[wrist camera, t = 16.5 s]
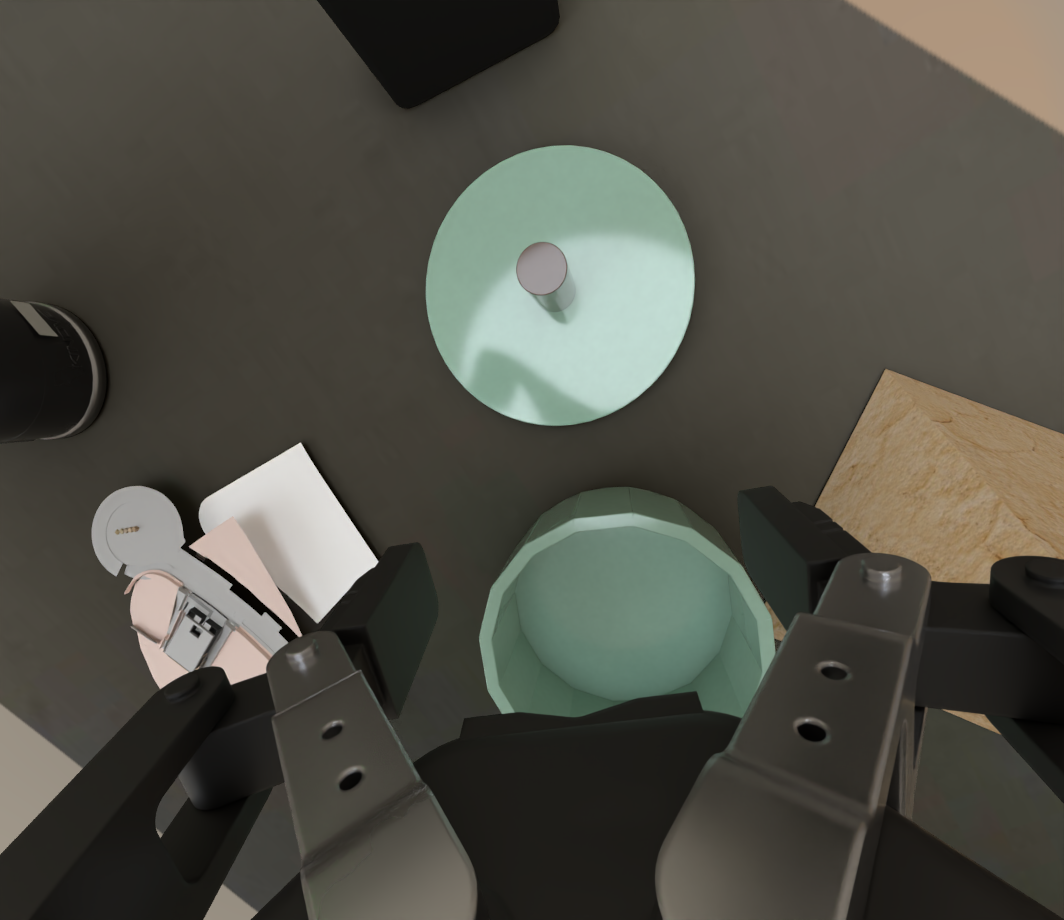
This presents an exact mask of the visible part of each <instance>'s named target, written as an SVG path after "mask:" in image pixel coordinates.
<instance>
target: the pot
mask: <svg viewBox="0 0 1064 920" xmlns="http://www.w3.org/2000/svg"><path fill="white" fill-rule="evenodd" d="M479 643H480V649H481V654H482V660H483V666H484V672H485V678H486V684H487V689H488V692H489V693H490V695H491V697H492V698H493V700H494V701H495V703H496V705H497V706H498V708H499V710H500V711H501V713H502V714H506V713H514V712H525V713H535V714H545V715H556V716H566V717H580V716H584V715H587V714H590V713H593V712H596V711H599V710H602V709H605V708H609V707H612V706H615V705H618V704H621V703H624V702H627V701H630V700H633V699H636V698H642V697H650V696H659V695H667V694H676V693H684V692H693V691H697V693H698V696H699V699H700V702H701V705H702V708H703V710H708V711H715V712H720V713H726V714H730V715H733V716H737V717H740V718H743V716H744V714H745V712H746V710H747V708H748V706H749V704H750V702H751V700H752V698H753V696H754V694H755V692H756V690H757V688H758V687H759V685H760V683H761V681H762V679H763V677H764V675H765V673H766V671H767V669H768V667H769V665H770V663H771V661H772V659H773V657H774V655H775V653H776V651H775V641H774V630H773V620H772V618H771V614H770V613H769V611H768V609H767V608H766V606H765V604H764V602H763V601H762V599H761V597H760V595H759V594H758V592H757V590H756V589H755V587H754V585H753V583H752V582H751V580H750V578H749V577H748V575H747V573H746V571H745V570H744V568H743V566H742V565H741V564H740V562H739V561H738V560H737V558H736V557H735V555H734V554H733V553H732V551H731V550H730V548H729V547H728V546H727V544H726V543H725V542H724V540H723V539H722V537H721V536H720V535H719V533H718V532H717V531H716V529H715V528H714V527H712V526H711V525H710V524H708V523H707V522H706V521H704V520H703V519H702V518H701V517H700V516H699V515H697V514H696V513H695V512H694V511H692V510H691V509H689V508H688V507H686V506H685V505H683V504H682V503H680V502H679V501H678V500H676V499H673V498H669V497H667V496H664V495H661V494H659V493H656V492H653V491H648V490H643V489H638V488H632V487H609V488H601V489H595V490H590V491H586V492H581V493H579V494H577V495H575V496H573V497H570V498H568V499H566V500H564V501H562V502H560V503H559V504H557V505H556V506H554V507H553V508H551V509H550V510H548V511H546V512H545V513H543V514H542V515H540V517H539V518H538V519H537V520H536V522H535V523H534V524H533V526H532V527H531V528H530V529H529V530H528V532H527V533H526V535H525V536H524V537H523V539H522V540H521V541H520V542H519V544H518V545H517V546H516V548H515V549H514V551H513V552H512V554H511V556H510V557H509V559H508V561H507V562H506V564H505V566H504V567H503V569H502V571H501V572H500V574H499V575H498V577H497V579H496V580H495V582H494V584H493V585H492V587H491V589H490V593H489V597H488V601H487V606H486V610H485V614H484V618H483V622H482V626H481V630H480V634H479Z"/></svg>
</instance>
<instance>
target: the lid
mask: <svg viewBox="0 0 1064 920" xmlns="http://www.w3.org/2000/svg"><path fill="white" fill-rule="evenodd" d="M694 290H695V271H694V261H693V255H692V249H691V245H690V242H689V238H688V235H687V232H686V229H685V227H684V225H683V222H682V220H681V218H680V216H679V214H678V212H677V210H676V209H675V207H674V206H673V204H672V203H671V201H670V200H669V198H668V197H667V195H666V194H665V193H664V192H663V191H662V190H661V188H660V187H659V186H658V185H657V184H656V183H655V182H654V181H653V180H652V179H651V178H650V177H648V176H647V175H646V174H645V173H644V172H642V171H641V170H640V169H639V168H637V167H635V166H634V165H632V164H630V163H629V162H627V161H626V160H624V159H622V158H619V157H617V156H615V155H612V154H610V153H608V152H604V151H601V150H597V149H593V148H589V147H581V146H573V145H563V146H548V147H542V148H536V149H532V150H529V151H526V152H523V153H520V154H517V155H514V156H512V157H510V158H508V159H506V160H504V161H502V162H500V163H498V164H497V165H495V166H494V167H492V168H490V169H489V170H487V171H486V172H484V173H483V174H482V175H481V176H480V177H479V178H477V179H476V180H475V181H474V182H473V183H471V184H470V185H469V187H468V188H467V189H466V190H465V191H464V192H463V193H462V194H461V195H460V196H459V198H458V199H457V200H456V202H455V203H454V205H453V206H452V207H451V209H450V210H449V212H448V213H447V215H446V217H445V219H444V221H443V223H442V224H441V226H440V228H439V231H438V233H437V236H436V238H435V241H434V243H433V246H432V250H431V254H430V258H429V262H428V269H427V276H426V304H427V313H428V318H429V323H430V327H431V331H432V334H433V337H434V340H435V342H436V345H437V348H438V350H439V352H440V354H441V356H442V357H443V359H444V361H445V363H446V365H447V366H448V368H449V369H450V370H451V372H452V373H453V375H454V376H455V378H456V379H457V380H458V381H459V382H460V383H461V384H462V385H463V386H464V388H465V389H466V390H467V391H469V392H470V393H471V394H472V395H473V396H474V397H476V398H477V399H478V400H479V401H481V402H482V403H484V404H485V405H487V406H488V407H490V408H491V409H493V410H495V411H497V412H499V413H501V414H503V415H505V416H507V417H510V418H513V419H516V420H519V421H522V422H526V423H532V424H537V425H548V426H563V425H575V424H580V423H584V422H589V421H593V420H596V419H598V418H601V417H604V416H607V415H609V414H611V413H613V412H615V411H617V410H619V409H621V408H623V407H624V406H626V405H627V404H629V403H630V402H632V401H633V400H635V399H636V398H638V397H639V396H640V395H641V394H642V393H644V392H645V391H646V390H647V389H648V388H649V387H650V386H651V385H652V384H653V383H654V382H655V381H656V380H657V379H658V378H659V376H660V375H661V374H662V373H663V372H664V371H665V369H666V368H667V366H668V365H669V363H670V362H671V360H672V359H673V357H674V356H675V354H676V352H677V350H678V348H679V346H680V344H681V342H682V340H683V338H684V335H685V332H686V329H687V326H688V324H689V321H690V316H691V311H692V307H693V302H694Z"/></svg>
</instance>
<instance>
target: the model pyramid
mask: <svg viewBox="0 0 1064 920" xmlns="http://www.w3.org/2000/svg"><path fill="white" fill-rule="evenodd" d="M815 507H816V508H819V509H821V510H822V511H823V512H824V513H826V514H827V515H828V516H829V517H830V518H831V519H833V522H834V521H835V522H836V523H837V524H839V525H840V526H841V527H842V528H843V531H844V530H846V531H847V532H848V533H849V534H851V535H852V536H853V537H854V538H855V539H856V540H858V541H859V542H860V543H861V544H862V545H864V546H865V547H866V548H867V549H868V550H870V551H871V552H872V553H885V554H892V555H897V556H901V557H904V558H907V559H910V560H912V561H915V562H917V563H918V564H920V565H922V566H923V567H924V568H926V569H927V570H928V572H929V573H930V575H931V581H938V582H952V583H979V584H990V571H991V566H992V565H993V564H994V563H995V562H996V561H999V560H1001V559H1004V558H1008V557H1014V556H1044V557H1052V558H1058V559H1063V560H1064V434H1061V433H1058V432H1056V431H1053V430H1050V429H1047V428H1045V427H1042V426H1039V425H1037V424H1034V423H1031V422H1028V421H1026V420H1023V419H1020V418H1018V417H1015V416H1012V415H1009V414H1007V413H1004V412H1001V411H999V410H996V409H993V408H990V407H988V406H985V405H982V404H980V403H977V402H974V401H971V400H969V399H966V398H963V397H961V396H958V395H955V394H952V393H950V392H947V391H944V390H942V389H939V388H936V387H933V386H931V385H928V384H925V383H923V382H920V381H917V380H914V379H912V378H909V377H906V376H904V375H901V374H898V373H895V372H893V371H890V370H887V369H885V371H884V373H883V375H882V377H881V379H880V381H879V383H878V385H877V387H876V388H875V390H874V392H873V394H872V396H871V398H870V400H869V402H868V404H867V406H866V408H865V410H864V412H863V414H862V416H861V418H860V420H859V422H858V424H857V426H856V427H855V429H854V431H853V433H852V435H851V437H850V439H849V441H848V443H847V445H846V447H845V449H844V451H843V453H842V455H841V457H840V459H839V461H838V463H837V464H836V466H835V468H834V470H833V472H832V474H831V476H830V478H829V480H828V482H827V484H826V486H825V488H824V490H823V492H822V494H821V496H820V498H819V500H818V501H817V503H816V505H815ZM765 606H766V608H767V609H768V611H769V613H770V614H771V618H772V620H773V630H774V638H775V639H778V640H780V641H782V640H783V638H784V636H785V634H786V632H787V631H786V630H785V628H784V627H783V625H782V624H781V622H780V621H779V619H778V618H777V616H776V615H775V613H774V612H773V610H772V609H771V607H770V606H769V604H768V602H767V601H766V603H765ZM942 710H944V709H942ZM944 711H947V712H949V713H951V714H954V715H956V716H958V717H961V718H963V719H965V720H968V721H970V722H973V723H975V724H977V725H980V726H982V727H984V728H987V729H989V730H991V731H994V732H996V733H998V734H1001V733H1000V732H999V731H998V730H997V729H996V728H995V727H994V726H993V725H992V724H991V722H990V721H989V720H988V719H987V718H986V716H985V715H984V714H976V713H968V712H960V711H952V710H944Z"/></svg>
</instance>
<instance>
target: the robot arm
mask: <svg viewBox="0 0 1064 920" xmlns="http://www.w3.org/2000/svg"><path fill="white" fill-rule="evenodd" d="M105 393H106V369H105V363H104V359H103V356H102V353H101V350H100V348H99V346H98V343H97V341H96V340H95V338H94V336H93V335H92V333H91V332H90V330H89V329H88V328H87V327H86V325H85V324H84V323H83V322H82V321H81V320H80V319H78V318H77V317H76V316H75V315H73V314H72V313H70V312H69V311H67V310H65V309H63V308H61V307H58V306H55V305H51V304H45V303H38V302H30V301H27V302H21V301H14V300H7V299H0V444H3V443H14V442H25V441H34V440H35V439H58V438H67V437H71V436H74V435H76V434H78V433H80V432H82V431H83V430H85V429H86V428H87V427H88V426H90V424H91V423H92V422H93V421H94V420H95V418H96V417H97V415H98V414H99V412H100V410H101V407H102V405H103V402H104V398H105ZM738 511H739V522H740V533H741V544H742V553H743V558H744V562H745V565H746V568H747V571H748V573H749V575H750V577H751V578H752V580H753V581H754V583H755V584H756V586H757V587H758V589H759V590H760V592H761V593H762V595H763V596H764V598H765V599H766V601H767V602H768V604H769V606H770V607H771V609H772V610H773V612H774V613H775V615H776V616H777V618H778V619H779V621H780V622H781V624H782V625H783V627H784V628H785V630H786V631H787V632H786V634H785V636H784V638H783V640H782V642H781V644H780V646H779V648H778V650H777V651H776V653H775V655H774V657H773V659H772V661H771V663H770V665H769V667H768V669H767V671H766V673H765V675H764V677H763V679H762V681H761V683H760V685H759V687H758V688H757V690H756V692H755V694H754V696H753V698H752V700H751V702H750V704H749V706H748V708H747V710H746V712H745V714H744V716H743V718H740V717H737V716H733V715H730V714H726V713H720V712H715V711H708V710H703V708H702V705H701V702H700V699H699V696H698V693H697V691H693V692H684V693H676V694H667V695H659V696H650V697H642V698H636V699H633V700H630V701H627V702H624V703H621V704H618V705H615V706H612V707H609V708H605V709H602V710H599V711H596V712H593V713H590V714H587V715H584V716H580V717H566V716H556V715H545V714H535V713H525V712H514V713H506V714H497V715H488V716H480V717H471V718H464V721H463V726H462V730H461V734H460V738H458V739H455V740H453V741H450V742H448V743H446V744H444V745H441V746H439V747H438V748H436V749H434V750H432V751H430V752H429V753H427V754H425V755H424V756H422V757H421V758H420V759H418V760H417V761H415V762H414V763H413V764H412V762H411V760H410V758H409V756H408V755H407V753H406V751H405V749H404V747H403V746H402V744H401V742H400V740H399V738H398V736H397V735H396V733H395V731H394V729H393V727H392V726H391V724H390V722H389V720H390V719H398V718H399V715H400V713H401V710H402V708H403V705H404V702H405V700H406V697H407V695H408V692H409V690H410V687H411V684H412V682H413V679H414V677H415V674H416V672H417V669H418V667H419V664H420V661H421V659H422V656H423V654H424V651H425V649H426V646H427V644H428V641H429V638H430V636H431V633H432V631H433V628H434V626H435V623H436V620H437V617H438V599H437V594H436V590H435V587H434V584H433V580H432V577H431V574H430V570H429V567H428V564H427V560H426V557H425V553H424V550H423V548H422V546H421V545H420V544H419V543H418V542H416V543H409V544H403V545H397V546H391V547H389V548H388V549H387V550H386V552H385V553H384V554H383V556H382V557H381V559H380V560H379V562H378V563H377V565H376V566H375V567H374V568H371V569H370V570H368V571H367V572H366V573H365V574H363V575H362V576H361V577H359V578H358V579H357V580H356V581H355V582H354V584H353V585H352V587H351V588H350V589H349V591H348V592H347V593H348V594H347V595H345V596H344V598H343V599H342V600H341V602H340V605H338V606H337V607H336V609H335V610H334V611H333V613H332V614H331V615H330V617H329V618H328V620H327V621H326V622H325V624H324V625H323V626H322V628H321V629H320V631H317V632H312V633H309V634H306V635H303V636H301V637H298V638H296V639H294V640H292V641H291V642H289V643H287V644H286V645H284V646H283V647H282V648H280V649H279V650H278V651H277V652H276V653H275V654H274V655H273V656H272V657H271V658H270V660H269V661H268V663H267V666H266V673H264V674H261V675H258V676H255V677H252V678H249V679H246V680H243V681H240V682H238V683H235V684H232V685H231V684H230V682H229V680H228V678H227V675H226V673H225V671H224V670H223V668H221V667H217V666H210V667H204V668H200V669H197V670H194V671H191V672H189V673H187V674H185V675H182V676H180V677H179V678H177V679H175V680H173V681H172V682H170V683H168V684H167V685H166V686H164V687H163V688H161V689H160V690H159V691H158V692H156V693H155V694H154V695H153V696H152V697H151V698H150V699H149V700H148V701H147V702H146V703H145V704H144V705H143V707H142V708H141V709H140V710H139V711H138V712H137V713H136V714H135V715H134V716H133V717H132V718H131V719H130V720H129V721H128V722H127V723H126V724H125V725H124V726H123V727H122V728H121V729H120V730H119V732H118V733H117V734H116V735H115V736H114V737H113V738H112V739H111V740H110V741H109V742H108V743H107V744H106V745H105V746H104V747H103V748H102V749H101V750H100V751H99V752H98V753H97V754H96V755H95V757H94V758H93V759H92V760H91V761H90V762H89V763H88V764H87V765H86V766H85V767H84V768H83V769H82V770H81V771H80V772H79V773H78V774H77V775H76V776H75V777H74V779H72V781H71V782H70V783H69V784H68V785H67V786H66V787H65V788H64V789H63V790H62V791H61V792H60V793H59V794H58V795H57V796H56V797H55V798H54V799H53V800H52V801H51V802H50V803H49V804H48V806H47V807H46V808H45V809H44V810H43V811H42V812H41V813H40V814H39V815H38V816H37V817H36V818H35V819H34V820H33V821H32V822H31V823H30V824H29V825H28V827H26V828H25V830H24V831H23V832H22V833H21V834H20V835H19V836H18V837H17V838H16V839H15V840H14V841H13V842H12V843H11V844H10V845H9V846H8V847H7V848H6V849H5V850H4V851H3V852H2V853H1V855H0V920H203V919H204V917H205V915H206V913H207V911H208V910H209V908H210V906H211V904H212V902H213V900H214V898H215V896H216V895H217V893H218V891H219V889H220V887H221V885H222V883H223V881H224V880H225V878H226V876H227V874H228V872H229V870H230V868H231V866H232V864H233V863H234V861H235V859H236V857H237V855H238V853H239V851H240V849H241V848H242V846H243V844H244V842H245V840H246V838H247V836H248V834H249V832H250V831H251V829H252V827H253V825H254V823H255V821H256V819H257V817H258V816H259V814H260V812H261V810H262V808H263V806H264V804H265V802H266V800H267V799H268V797H269V795H270V793H271V790H272V788H273V787H274V786H276V785H279V784H281V783H284V782H285V785H286V790H287V795H288V799H289V804H290V808H291V813H292V818H293V822H294V827H295V832H296V836H297V841H298V845H299V850H300V855H301V860H302V868H301V870H300V872H299V873H298V874H297V875H296V876H295V877H294V878H293V879H292V880H291V881H290V882H289V883H288V884H287V885H286V886H285V887H284V888H283V889H282V890H281V891H280V892H279V893H278V894H277V895H276V896H274V897H273V898H272V899H271V900H270V901H269V902H268V903H267V904H266V905H265V906H264V907H263V908H262V909H261V910H260V911H259V912H258V913H257V914H256V915H255V916H254V917H253V918H252V919H251V920H1064V919H1063V918H1061V917H1059V916H1058V915H1056V914H1055V913H1053V912H1052V911H1050V910H1049V909H1047V908H1045V907H1044V906H1042V905H1041V904H1039V903H1038V902H1036V901H1035V900H1033V899H1032V898H1030V897H1028V896H1027V895H1025V894H1024V893H1022V892H1021V891H1019V890H1018V889H1016V888H1015V887H1013V886H1011V885H1010V884H1008V883H1007V882H1005V881H1004V880H1002V879H1001V878H999V877H997V876H996V875H994V874H993V873H991V872H990V871H988V870H987V869H985V868H984V867H982V866H980V865H979V864H977V863H976V862H974V861H973V860H971V859H970V858H968V857H967V856H965V855H963V854H962V853H960V852H959V851H957V850H956V849H954V848H953V847H951V846H950V845H948V844H946V843H945V842H943V841H942V840H940V839H939V838H937V837H936V836H934V835H932V834H931V833H929V832H928V831H926V830H925V829H923V828H922V827H920V826H919V825H917V824H915V823H914V822H912V813H913V802H914V793H915V786H916V780H917V774H918V768H919V761H920V755H921V749H922V742H923V736H924V730H925V724H926V717H927V707H928V708H936V709H944V710H952V711H960V712H968V713H976V714H984V715H985V716H986V718H987V719H988V720H989V721H990V722H991V724H992V725H993V726H994V727H995V728H996V729H997V730H998V731H999V732H1000V733H1001V735H1002V736H1003V737H1004V738H1005V739H1006V740H1007V741H1008V742H1009V743H1010V745H1011V746H1012V747H1013V748H1014V749H1015V750H1016V751H1017V752H1018V753H1019V755H1020V756H1021V757H1022V758H1023V759H1024V760H1025V761H1026V762H1027V763H1028V764H1029V766H1030V767H1031V768H1032V769H1033V770H1034V771H1035V772H1036V773H1037V774H1038V776H1039V777H1040V778H1041V779H1042V780H1043V781H1044V782H1045V783H1046V784H1047V786H1048V787H1049V788H1050V789H1051V790H1052V791H1053V792H1054V793H1055V794H1056V795H1057V797H1058V798H1059V799H1060V800H1061V801H1062V802H1063V803H1064V560H1063V559H1058V558H1052V557H1044V556H1014V557H1008V558H1004V559H1001V560H999V561H996V562H995V563H994V564H993V565H992V566H991V571H990V584H979V583H952V582H938V581H931V575H930V573H929V572H928V570H927V569H926V568H924V567H923V566H922V565H920V564H918V563H917V562H915V561H912V560H910V559H907V558H904V557H901V556H897V555H892V554H885V553H872V552H871V551H870V550H868V549H867V548H866V547H865V546H864V545H862V544H861V543H860V542H859V541H858V540H856V539H855V538H854V537H853V536H852V535H851V534H849V533H848V532H847V531H846V530H844V531H843V528H842V527H841V526H840V525H839V524H837V523H836V522H835V521H834V522H833V519H831V518H830V517H829V516H828V515H827V514H826V513H824V512H823V511H822V510H821V509H819V508H816V507H814V506H811V505H808V504H806V503H803V502H793V503H791V502H790V501H789V500H788V499H787V498H785V497H784V496H783V495H782V494H781V493H780V492H779V491H778V490H777V489H776V488H775V487H773V486H766V487H760V488H754V489H747V490H741V491H739V493H738ZM177 777H179V779H180V781H181V783H182V785H183V787H184V789H185V791H186V792H187V794H188V796H189V798H188V799H187V801H186V802H185V803H184V805H183V806H182V808H181V809H180V811H179V812H178V814H177V815H176V816H175V818H174V819H173V821H172V822H171V824H170V825H169V827H168V828H167V829H166V831H165V832H164V834H163V835H162V837H161V838H160V837H159V835H158V833H157V831H156V827H155V817H156V811H157V808H158V805H159V803H160V801H161V799H162V797H163V796H164V794H165V793H166V792H167V790H168V789H169V788H170V786H171V785H172V784H173V782H174V781H175V779H176V778H177Z"/></svg>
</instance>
